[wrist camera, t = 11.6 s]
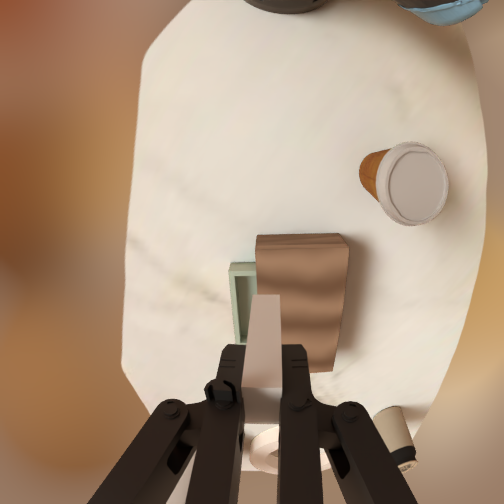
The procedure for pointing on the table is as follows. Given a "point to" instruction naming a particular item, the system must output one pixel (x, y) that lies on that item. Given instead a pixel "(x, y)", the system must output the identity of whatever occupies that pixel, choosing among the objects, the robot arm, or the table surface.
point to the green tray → (242, 297)
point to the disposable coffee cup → (406, 182)
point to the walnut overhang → (306, 289)
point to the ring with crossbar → (268, 444)
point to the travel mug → (396, 437)
